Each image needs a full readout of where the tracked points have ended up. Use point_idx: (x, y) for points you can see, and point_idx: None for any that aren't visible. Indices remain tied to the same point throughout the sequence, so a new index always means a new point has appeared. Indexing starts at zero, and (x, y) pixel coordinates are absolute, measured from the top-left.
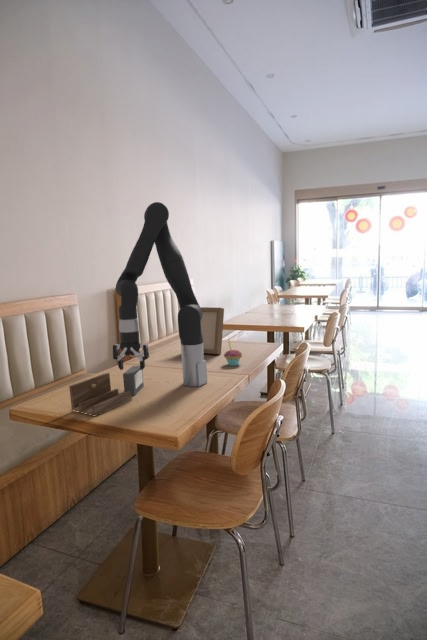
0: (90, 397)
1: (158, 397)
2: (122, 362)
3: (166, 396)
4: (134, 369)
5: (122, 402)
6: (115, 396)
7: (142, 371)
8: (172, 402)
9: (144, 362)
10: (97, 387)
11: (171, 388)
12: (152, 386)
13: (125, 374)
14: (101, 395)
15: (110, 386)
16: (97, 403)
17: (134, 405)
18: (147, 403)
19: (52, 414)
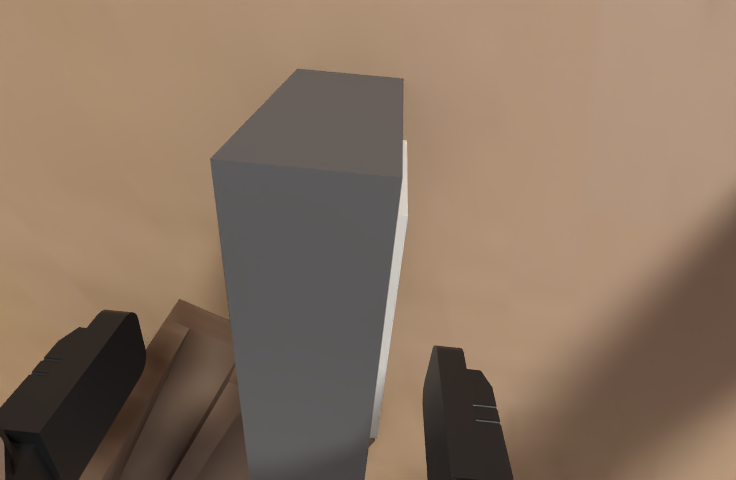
0: (129, 453)
1: (559, 365)
2: (78, 415)
3: (620, 357)
4: (328, 363)
5: None
6: None
7: (402, 136)
8: (643, 442)
9: (504, 459)
10: (117, 468)
11: (703, 187)
12: (504, 92)
13: (280, 476)
14: (195, 467)
15: (165, 369)
16: (206, 464)
17: (414, 446)
18: None
19: None
